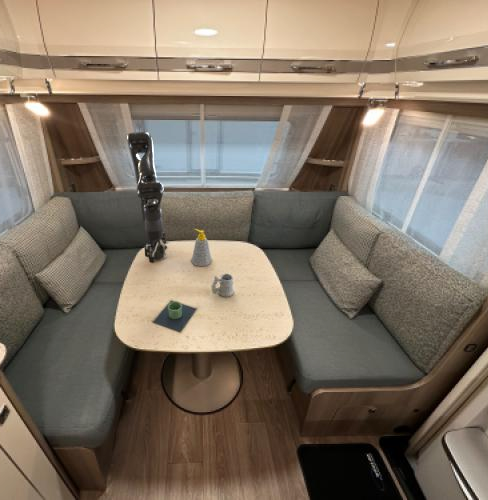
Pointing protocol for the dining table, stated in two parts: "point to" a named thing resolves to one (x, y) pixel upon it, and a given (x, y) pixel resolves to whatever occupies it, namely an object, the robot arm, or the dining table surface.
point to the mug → (223, 285)
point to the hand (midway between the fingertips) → (157, 257)
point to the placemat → (175, 323)
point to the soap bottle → (201, 251)
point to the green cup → (175, 310)
